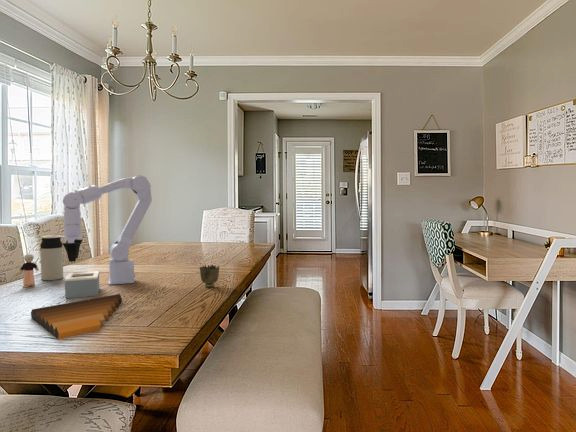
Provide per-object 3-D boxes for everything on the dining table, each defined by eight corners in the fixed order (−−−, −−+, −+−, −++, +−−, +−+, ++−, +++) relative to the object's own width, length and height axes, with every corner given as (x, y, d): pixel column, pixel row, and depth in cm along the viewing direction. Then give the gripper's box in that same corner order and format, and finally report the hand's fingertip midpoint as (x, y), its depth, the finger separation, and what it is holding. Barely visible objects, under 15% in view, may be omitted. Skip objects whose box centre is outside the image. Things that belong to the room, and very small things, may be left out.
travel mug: (67, 277, 174) (66, 235, 173) (55, 281, 166) (53, 237, 165) (50, 276, 175) (48, 234, 174) (36, 280, 167) (35, 236, 166)
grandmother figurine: (25, 288, 153) (24, 255, 152) (17, 288, 154) (16, 254, 153) (42, 284, 160) (41, 252, 160) (33, 283, 161) (32, 251, 160)
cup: (223, 287, 156) (223, 266, 155) (207, 290, 150) (207, 269, 150) (211, 284, 161) (211, 264, 160) (196, 287, 155) (195, 266, 155)
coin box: (99, 288, 154) (98, 271, 153) (97, 295, 142) (97, 277, 142) (69, 290, 150) (68, 273, 149) (65, 298, 139) (64, 279, 138)
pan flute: (117, 303, 135) (31, 319, 117) (117, 293, 135) (30, 308, 117) (154, 319, 118) (58, 341, 100) (153, 308, 117) (58, 328, 100)
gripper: (63, 223, 159) (64, 257, 160) (57, 226, 146) (58, 263, 147) (83, 222, 162) (84, 256, 163) (79, 225, 149) (80, 262, 150)
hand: (73, 259), depth 155 cm, fingers open, 7 cm apart
